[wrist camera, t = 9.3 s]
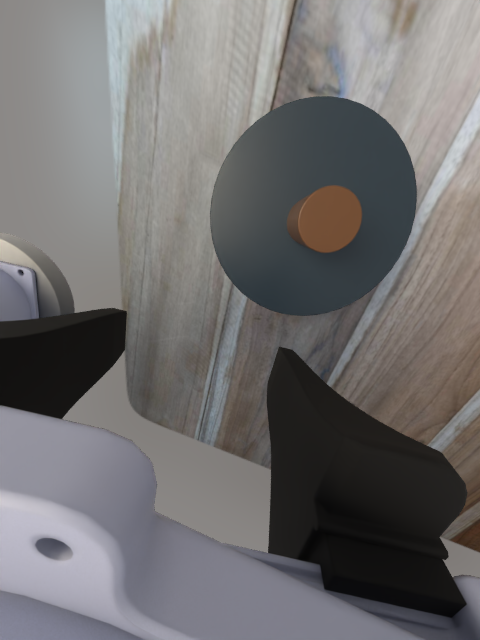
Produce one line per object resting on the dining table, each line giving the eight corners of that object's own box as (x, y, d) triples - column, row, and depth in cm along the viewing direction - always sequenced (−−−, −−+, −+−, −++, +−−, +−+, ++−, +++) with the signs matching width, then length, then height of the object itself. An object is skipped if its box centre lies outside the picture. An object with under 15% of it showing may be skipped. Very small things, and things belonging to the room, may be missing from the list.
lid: (200, 289, 16) (174, 317, 11) (234, 83, 12) (217, -12, 7) (359, 326, 16) (402, 370, 11) (443, 134, 12) (565, 74, 7)
